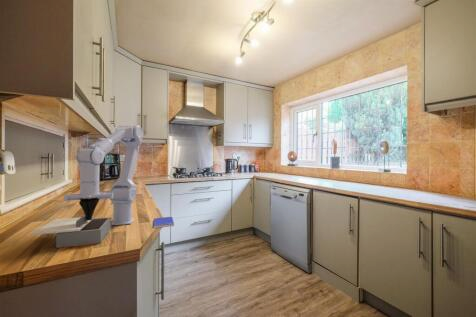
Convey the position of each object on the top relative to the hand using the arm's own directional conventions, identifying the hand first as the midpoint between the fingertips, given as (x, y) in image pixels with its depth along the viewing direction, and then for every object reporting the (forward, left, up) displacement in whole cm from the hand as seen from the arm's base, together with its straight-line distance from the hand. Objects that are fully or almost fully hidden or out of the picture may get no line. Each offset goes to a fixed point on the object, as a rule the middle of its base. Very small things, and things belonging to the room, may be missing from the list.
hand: (89, 219), depth 77 cm
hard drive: (-10, +26, -7) cm, 28 cm away
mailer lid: (0, -7, -1) cm, 7 cm away
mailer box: (0, -1, -6) cm, 6 cm away
